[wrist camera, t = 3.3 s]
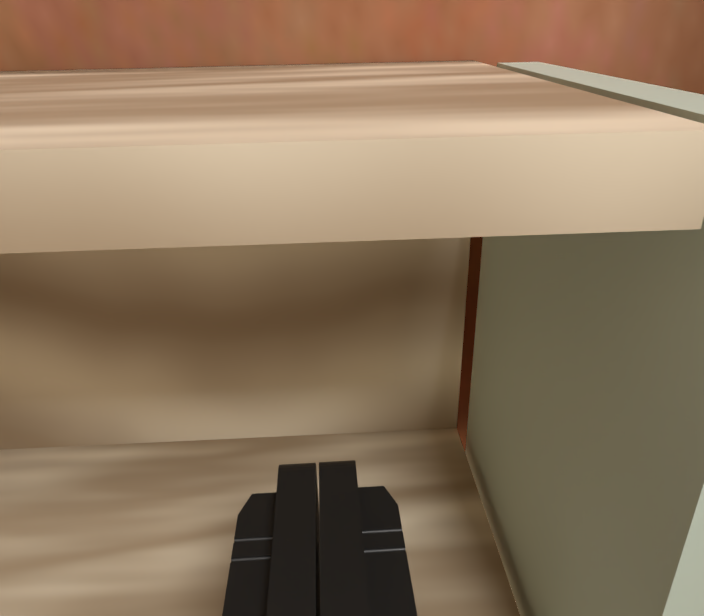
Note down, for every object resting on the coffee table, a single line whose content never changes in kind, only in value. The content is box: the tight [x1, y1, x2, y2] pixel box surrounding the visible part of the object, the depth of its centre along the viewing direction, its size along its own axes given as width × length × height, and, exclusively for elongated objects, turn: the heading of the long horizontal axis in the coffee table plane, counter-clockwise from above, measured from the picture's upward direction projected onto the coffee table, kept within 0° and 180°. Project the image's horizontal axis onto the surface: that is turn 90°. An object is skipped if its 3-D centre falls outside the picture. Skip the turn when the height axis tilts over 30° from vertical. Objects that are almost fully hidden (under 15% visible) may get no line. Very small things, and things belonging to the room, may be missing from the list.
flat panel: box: [465, 62, 704, 616], centre depth 15 cm, size 14×1×12 cm, turn 1°
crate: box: [0, 60, 704, 616], centre depth 15 cm, size 14×21×12 cm, turn 91°
